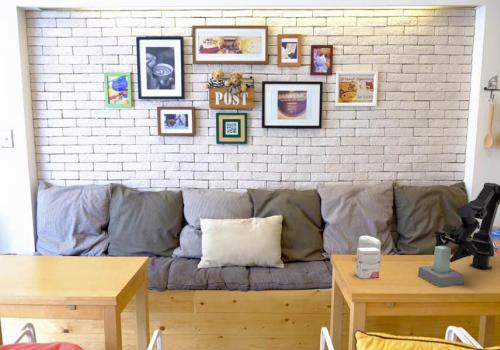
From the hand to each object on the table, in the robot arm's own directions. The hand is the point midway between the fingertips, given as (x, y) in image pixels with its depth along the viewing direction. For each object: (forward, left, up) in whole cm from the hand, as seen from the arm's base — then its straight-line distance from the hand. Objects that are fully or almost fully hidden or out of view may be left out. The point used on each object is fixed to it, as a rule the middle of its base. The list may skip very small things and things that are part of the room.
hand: (441, 257), depth 168 cm
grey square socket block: (0, 0, -10) cm, 10 cm away
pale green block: (0, 0, -9) cm, 9 cm away
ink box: (+26, -14, -10) cm, 31 cm away
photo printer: (+15, -27, -10) cm, 32 cm away
